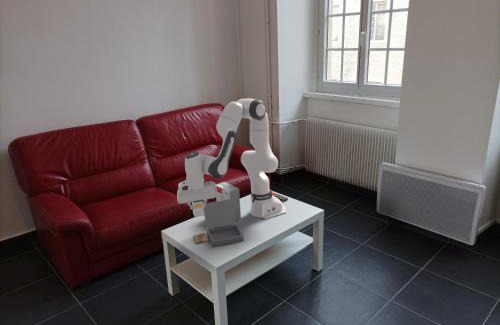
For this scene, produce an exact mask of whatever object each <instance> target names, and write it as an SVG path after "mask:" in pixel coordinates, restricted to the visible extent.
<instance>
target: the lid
mask: <svg viewBox="0 0 500 325" xmlns="http://www.w3.org/2000/svg"><path fill="white" fill-rule="evenodd" d="M205 206H206V207H204V216H203V217H204V222H205V227H206V230H210V229H216V228H221V227H226V226H231V225H237V220H236V219H235V212H234V206H233V200H232V199H229V200H223V201H212V202H206V204H205Z"/></svg>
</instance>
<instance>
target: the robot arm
mask: <svg viewBox="0 0 500 325" xmlns="http://www.w3.org/2000/svg"><path fill="white" fill-rule="evenodd" d="M242 119H249V142H250V145H252V146H253V148H254V150H253V149H252V150H244V152H242V154H241V157H240V162H241V164H242V165H243V167H244V168H245V170H246V172H247V174H248V176H249V180H250V188H251V189H250V190H251V192H250V201H251V206H250V210H249V214H250V215H251V216H252V217H254V218H262V219H264V220H265V219H270V218H273V217H278V216H279V215H283V214H286V213H287V208H286V207H285V206H284V205H283V203H282V201H281V200H280V199H279V198H278V197H276V196H275V195H276V192H274V191H273V190H271V189H270V179H269V176H267V175H266V173H274V172H276V170H277V168H278V166H279V160H278V158H277V157H276V155H274V153H273V151H272V148H271V144H270V126H269V124H270V123H269V116H268V113H267V107H266V104H265V103H264V102H263V101H262V100H260V99H254V98H237V99H235V100H234V101H230V102H228V103H227V105H226V106H225V107H224V109H223V110H222V112H221V113H220V115H219V118H218V120H217V122H216V125H215V127H216V131H217V133H218V135H219V136H220V137H221V138H222V145H221V148H220V150H219V153H218V155H217V157H214V156H213V155H208V154H203V153H200V152H198V151H193V152H189V153H187V154H186V156H185V158H184V169H185V173H186V174H185V175H186V179H185V180H184V181H181V182H179V183H178V186H177V187H178V189H177V193H176V195H177V196H176V199H177V203H178V204H185V203H187V204H188V206H189V207H190V210H193V205H192V202H193V201H199V200H202V201H203V207H206V206H205V204H206V203H208V200H211V199H215V198H216V189H215V187H216V183H215V181H213V180H210V181H205V179H204V175H209V176H211V177H212V178H214V179H222V178H224V176H225V175H226V174H227V173H228V169H229V162H230V159H231V156H232V153H233V151H234V147H235V144H236V141H237V131H238V128H239V125H240V123H241V121H242Z"/></svg>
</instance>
